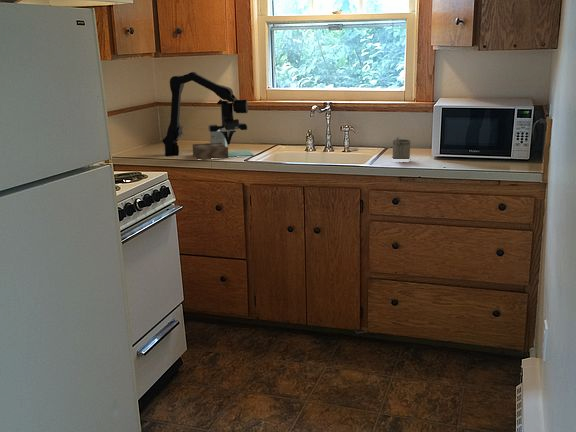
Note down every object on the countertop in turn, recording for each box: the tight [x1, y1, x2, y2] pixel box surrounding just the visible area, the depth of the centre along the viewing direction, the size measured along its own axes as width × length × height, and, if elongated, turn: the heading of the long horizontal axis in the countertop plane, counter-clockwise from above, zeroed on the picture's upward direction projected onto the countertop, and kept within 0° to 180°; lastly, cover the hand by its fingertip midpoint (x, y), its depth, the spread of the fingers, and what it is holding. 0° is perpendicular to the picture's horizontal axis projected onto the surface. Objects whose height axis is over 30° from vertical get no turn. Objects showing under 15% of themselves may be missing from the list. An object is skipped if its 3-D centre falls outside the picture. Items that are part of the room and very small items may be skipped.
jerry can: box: [391, 137, 412, 159], centre depth 294 cm, size 14×10×12 cm
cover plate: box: [228, 150, 255, 158], centre depth 318 cm, size 13×13×2 cm
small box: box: [209, 130, 228, 147], centre depth 333 cm, size 8×6×10 cm
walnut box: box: [192, 142, 229, 160], centre depth 314 cm, size 15×16×6 cm
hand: (228, 144), depth 316 cm, fingers closed
